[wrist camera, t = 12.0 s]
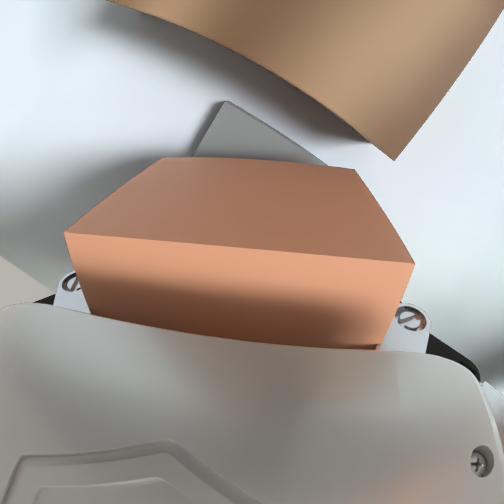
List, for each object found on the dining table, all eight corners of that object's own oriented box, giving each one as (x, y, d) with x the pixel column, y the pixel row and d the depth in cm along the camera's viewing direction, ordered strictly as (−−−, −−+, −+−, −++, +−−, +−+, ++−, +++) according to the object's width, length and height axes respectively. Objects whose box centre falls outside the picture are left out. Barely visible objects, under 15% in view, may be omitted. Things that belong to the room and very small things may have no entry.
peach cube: (324, 315, 14) (331, 456, 8) (179, 300, 14) (126, 426, 8) (354, 169, 10) (434, 299, 4) (163, 157, 10) (35, 257, 4)
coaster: (376, 203, 13) (380, 208, 12) (278, 309, 17) (278, 316, 16) (228, 100, 11) (225, 101, 11) (153, 237, 15) (148, 243, 15)
